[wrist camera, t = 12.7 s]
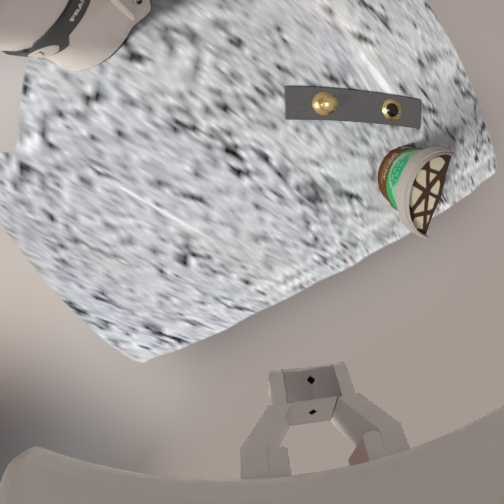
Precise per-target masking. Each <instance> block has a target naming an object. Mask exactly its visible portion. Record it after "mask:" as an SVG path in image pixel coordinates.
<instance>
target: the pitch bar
mask: <svg viewBox="0 0 504 504" xmlns="http://www.w3.org/2000/svg"><path fill="white" fill-rule="evenodd" d="M284 91H285V119H300V120H336V121H353V122H366V123H377V124H387V125H396V126H404V127H411V128H418V129H420V100H417V99H412V98H407V97H401V96H395V95H389V94H382V93H375V92H367V91H358V90H348V89H336V88H321V87H292V86H285V87H284Z"/></svg>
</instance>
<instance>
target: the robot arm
mask: <svg viewBox="0 0 504 504" xmlns="http://www.w3.org/2000/svg"><path fill="white" fill-rule="evenodd" d="M139 1H142V3H141V4H138V2H139ZM150 10H151V3H150V0H0V51H3V52H4V53H6V54H9V55H15V56H24V57H30V58H47V59H49V60H51V61H53V62H54V63H56V64H57V65H58V66H59V67H61V68H63V69H65V70H69V71H81V70H86V69H89V68H92V67H94V66H96V65H98V64H100V63H101V62H103V61H104V60H106V59H107V58H108V57H110V56H111V55H112V54H113V53H114V52H115V51H116V50H117V49H118V48H119V47H120V45H121V44H122V43H123V42H124V40H125V39H126V37H127V36H128V34H129V32H130V31H131V29H132V28H133V27H134V25H135V24H137V23H138V22H139V21H140V20H142V19H143V18H144V17H145V16H146V15H147V14H148V13H149V12H150ZM269 401H270V405H269V406H268V407H267V409H266V410H265V412H264V414H263V415H262V417H261V418H260V420H259V421H258V423H257V424H256V426H255V427H254V429H253V431H252V432H251V433H250V435H249V436H248V438H247V439H246V441H245V442H244V444H243V446H242V447H241V449H240V454H241V479H194V478H180V477H168V476H159V475H152V474H145V473H138V472H132V471H126V470H121V469H116V468H111V467H106V466H102V465H97V464H94V463H90V462H86V461H82V460H78V459H75V458H72V457H68V456H65V455H62V454H58V453H55V452H53V451H50V450H47V449H44V448H41V447H33V448H31V449H29V450H27V451H26V452H24V453H22V454H21V455H19V456H18V457H17V458H15V459H14V460H12V461H11V463H10V464H9V465H8V467H7V469H6V471H5V473H4V475H3V478H2V481H1V484H0V504H504V405H503V406H502V407H500V408H498V409H496V410H495V411H493V412H491V413H489V414H487V415H486V416H484V417H482V418H480V419H478V420H476V421H474V422H472V423H470V424H468V425H466V426H464V427H462V428H460V429H458V430H455V431H453V432H451V433H449V434H446V435H444V436H442V437H439V438H437V439H434V440H432V441H429V442H427V443H424V444H422V445H419V446H416V447H413V448H409V445H408V442H407V439H406V437H405V434H404V432H403V429H402V426H401V424H400V422H398V421H397V420H395V419H394V418H392V417H391V416H390V415H388V414H387V413H386V412H384V411H383V410H382V409H380V408H379V407H377V406H376V405H374V404H373V403H372V402H371V401H369V400H368V399H367V398H365V397H364V396H363V395H361V394H360V393H355V390H354V387H353V384H352V381H351V379H350V376H349V373H348V370H347V367H346V365H345V363H344V362H340V363H333V364H325V365H318V366H310V367H306V368H294V369H280V370H269ZM329 420H331V422H332V423H333V424H334V425H335V426H336V427H337V428H338V429H339V430H340V431H341V432H342V433H343V434H344V435H345V436H346V437H347V438H348V439H349V440H350V441H351V442H352V443H353V444H354V445H355V446H356V448H355V450H354V452H353V453H352V455H351V456H350V458H349V459H348V460H349V464H350V466H346V467H341V468H337V469H331V470H326V471H320V472H314V473H307V474H300V475H292V476H291V470H290V462H289V456H288V449H287V448H285V447H283V446H282V447H279V446H280V444H281V442H282V440H283V438H284V436H285V434H286V432H287V430H288V429H289V426H293V425H300V424H307V423H314V422H322V421H329Z"/></svg>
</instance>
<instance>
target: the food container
mask: <svg viewBox="0 0 504 504" xmlns="http://www.w3.org/2000/svg"><path fill="white" fill-rule="evenodd" d="M453 154H454V153H453V152H452V151H451V150H449V149H448V148H445V147H440V146H432V147H428V148H425V149H421V148H415V147H398V148H396V149H394V150H392V151H390V152H389V153H388V154H387V155H386V156H385V157H384V159H383V161H382V163H381V165H380V167H379V172H378V184H379V188H380V190H381V193H382V194H383V196H384V197H385V198H386V199H387V200H388V201H389V202H390V203H391V205H392V206H393V207H394V208H395V209H396V210H397V211H398V212H399V215H400V218H401V220H402V222H403V224H404V225H405V226H406V228H408V229H409V230H410V231H411V232H413V233H414V234H416V235H418V236H421V237H423V238H429V237H428V236H427V235H426V232H427V230H428V226H429V223H430V221H431V218H432V215H433V213H434V211H435V209H436V207H437V204H438V202H439V200H440V197H441V194H442V190H443V185H444V180H445V175H446V172H447V168H448V165H449V161H450V158H451V156H456V155H453Z"/></svg>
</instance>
